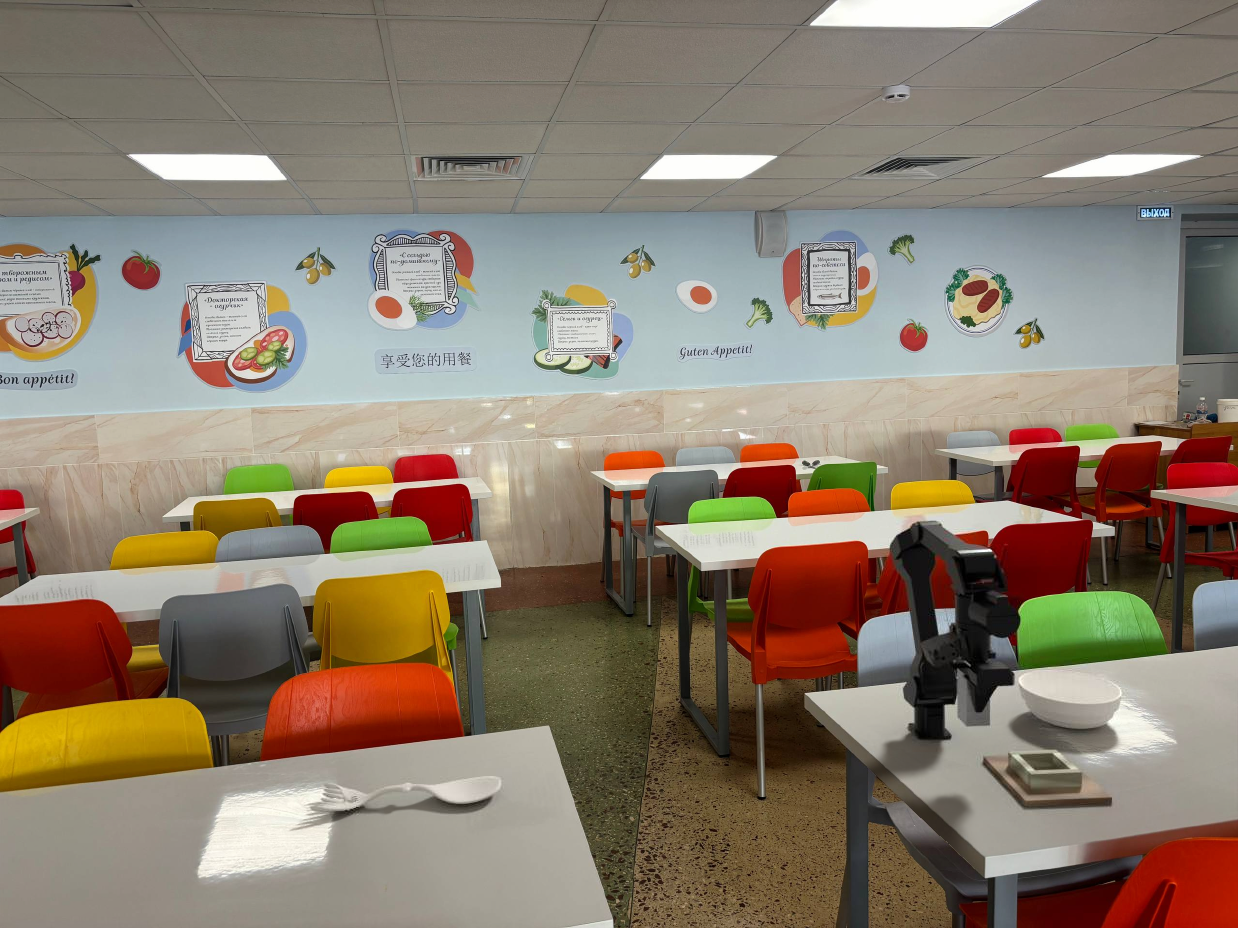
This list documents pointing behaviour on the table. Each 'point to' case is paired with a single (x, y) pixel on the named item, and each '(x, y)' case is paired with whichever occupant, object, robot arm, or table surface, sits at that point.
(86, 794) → the table surface
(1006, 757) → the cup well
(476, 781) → the white spork
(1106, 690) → the bowl
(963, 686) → the grey tall block
